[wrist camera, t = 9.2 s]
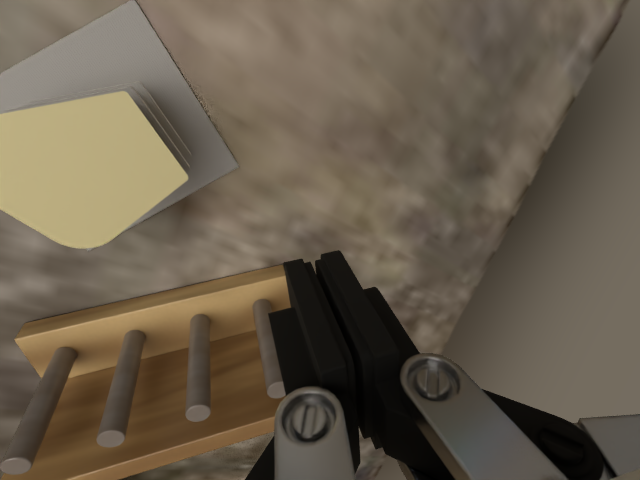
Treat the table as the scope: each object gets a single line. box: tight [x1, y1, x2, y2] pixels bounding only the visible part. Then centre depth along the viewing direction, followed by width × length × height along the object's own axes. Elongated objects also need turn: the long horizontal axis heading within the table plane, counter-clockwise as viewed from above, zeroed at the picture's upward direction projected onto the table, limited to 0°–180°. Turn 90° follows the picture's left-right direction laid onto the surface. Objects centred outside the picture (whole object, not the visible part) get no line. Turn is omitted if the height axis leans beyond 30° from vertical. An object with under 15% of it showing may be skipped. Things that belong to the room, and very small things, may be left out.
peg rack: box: [0, 265, 291, 480], centre depth 22 cm, size 5×16×8 cm, turn 96°
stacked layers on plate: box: [0, 0, 239, 251], centre depth 17 cm, size 10×9×6 cm
